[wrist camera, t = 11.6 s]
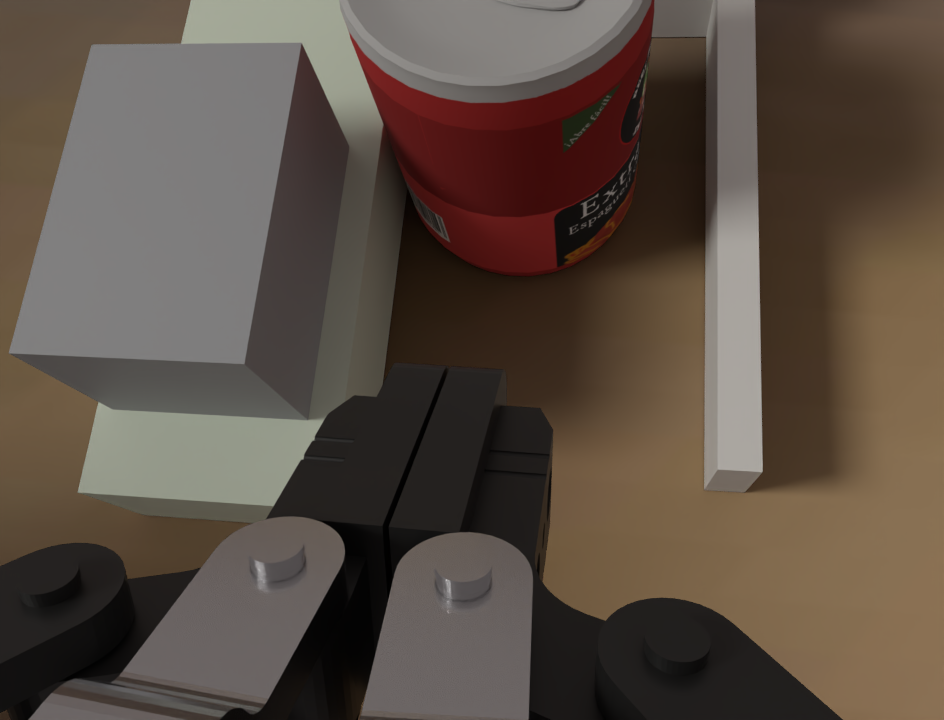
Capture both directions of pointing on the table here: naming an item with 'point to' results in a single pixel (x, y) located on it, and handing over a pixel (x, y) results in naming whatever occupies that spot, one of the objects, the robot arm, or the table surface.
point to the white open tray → (297, 252)
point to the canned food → (511, 119)
